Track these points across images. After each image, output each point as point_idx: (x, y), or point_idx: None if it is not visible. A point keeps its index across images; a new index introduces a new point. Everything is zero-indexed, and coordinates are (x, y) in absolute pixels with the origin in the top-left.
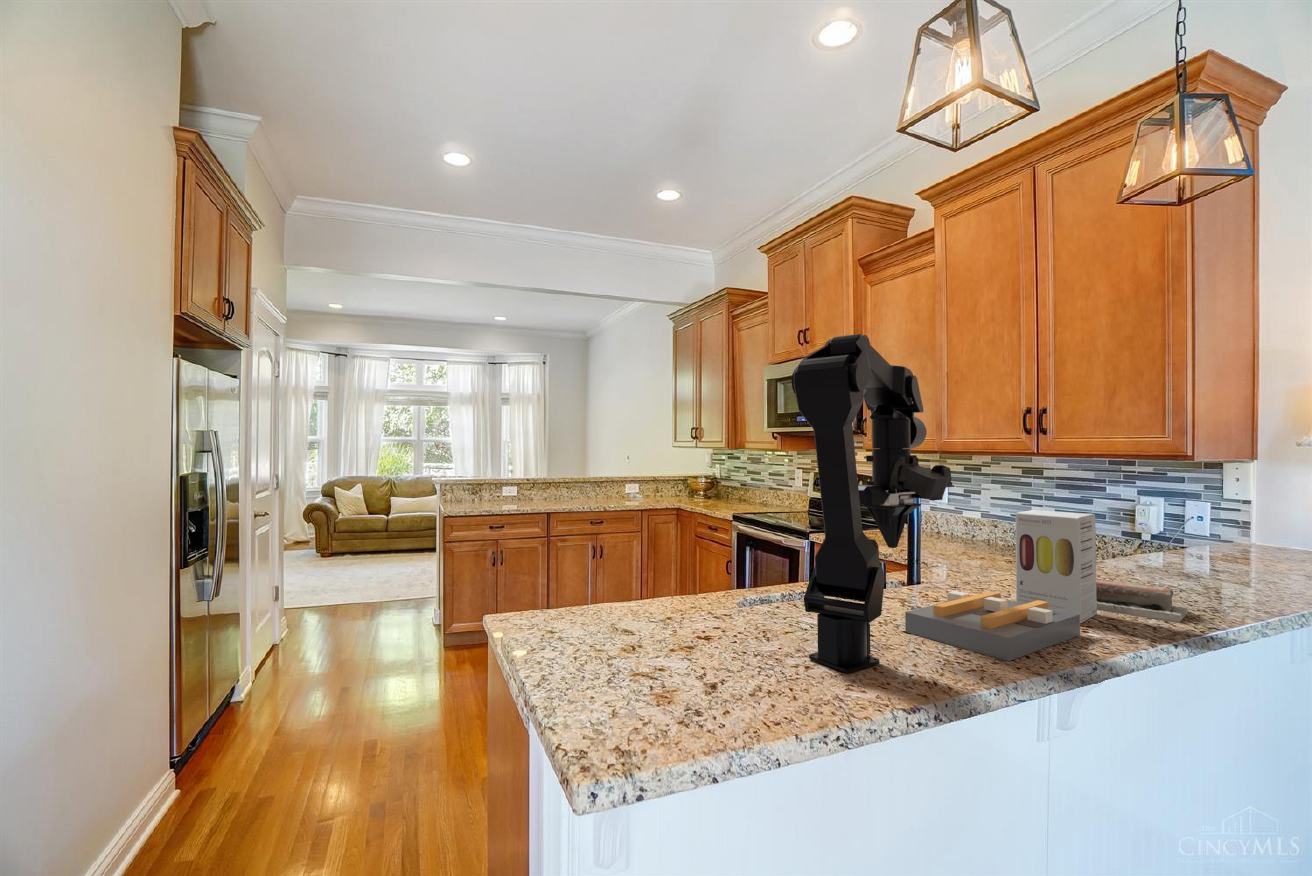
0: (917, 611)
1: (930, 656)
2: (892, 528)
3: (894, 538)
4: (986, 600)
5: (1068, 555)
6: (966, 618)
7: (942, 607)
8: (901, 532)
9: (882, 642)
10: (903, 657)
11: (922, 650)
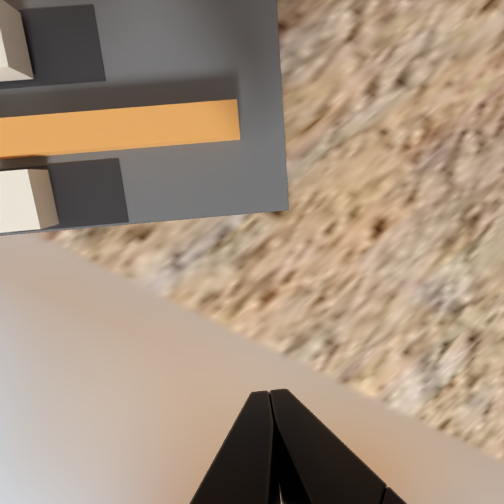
0: (250, 194)
1: (400, 28)
2: (385, 492)
3: (307, 423)
4: (10, 55)
5: None
6: (179, 50)
7: (234, 99)
8: (219, 462)
9: (404, 173)
10: (462, 60)
11: (375, 73)
